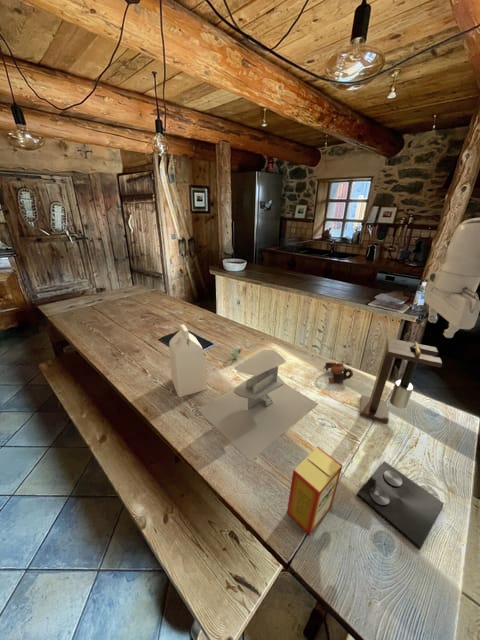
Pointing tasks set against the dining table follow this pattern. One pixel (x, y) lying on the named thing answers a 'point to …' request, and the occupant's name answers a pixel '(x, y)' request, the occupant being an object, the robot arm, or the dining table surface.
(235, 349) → the robot head
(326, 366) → the pottery mug
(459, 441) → the dining table surface
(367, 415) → the stand
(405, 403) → the handle in metal cup
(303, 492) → the baking soda box
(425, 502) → the stove
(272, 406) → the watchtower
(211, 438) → the dining table surface
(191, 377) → the milk
